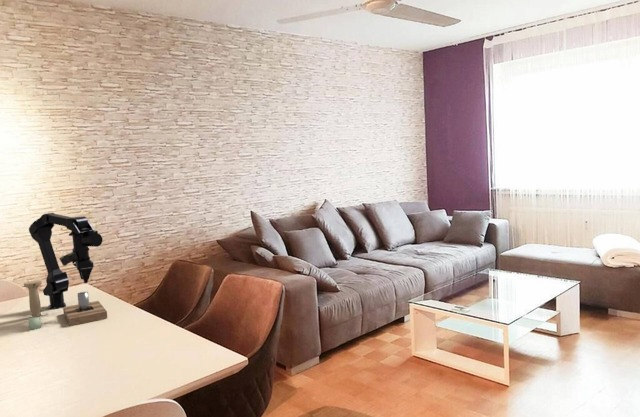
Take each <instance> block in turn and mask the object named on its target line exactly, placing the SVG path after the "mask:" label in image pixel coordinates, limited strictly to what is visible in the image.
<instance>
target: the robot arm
mask: <svg viewBox="0 0 640 417" xmlns="http://www.w3.org/2000/svg"><path fill="white" fill-rule="evenodd" d="M55 225H56V226H57V225H58V226H61V227H65V228H66V229H67V230H69V231H70V232H69V234H68V236H69V237H72V246H73V248H72V250H71V252H70V253H67V254H65V255H63V256H61V257H59V261H60V263H61V264H62V266H63V267H64V266H67V265H68V264H70V263H72V265H73V266H74V267H76V270H77V271H78V273H79V277H80V279H81V280H83V283H84V284H88V282H89V279H90V276H91V273H92V271H93V269H94V262H93V261H92V260H91V257H90V253H89V252H90V248H89V247H91V248H92V247H96V248H98V247H100V246H101V245H102V243H103V237H102V235H101V234H100V233H99V231H98V230H95V229H94V227H93V225H92V224H91V223H90V221H89V219H88V218H87V217H86V216H72V217H71V216H67V215H63V214H62V215H61V214H58V213H54V212H49V213H43V214H42V215H41V216H40V217H39V218H37V219H36V220H34V221H33V222H32V223H31V224H30V225H29V228H28V232H29V234H30V236H31V238H32V239H33V240H34V241H35V242H36V243H37V245H38V247H39V249H40V253H41V256H42V259H43V262H44V266H45V268H46V272H47V276H46V279H45V281H46V286H45V287H44V288H43V290H42V292H43V296H48V299H49V304H48V308H49V310H53V309H60V308H63V307H67V304H66V302H65V298H64V297H65V296H64V293H65V292H68V291H69V285H70V279H69V277H68V274H67V272H66V271H63V270H61V269H60V265H59V263H58V259H57V257H56V256H57V255H56V253H55V250H54V247H53V244H52V240H51V239H52V235H53V231H52V229H53V228H54V227H55Z"/></svg>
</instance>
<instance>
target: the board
mask: <svg viewBox="0 0 640 417" xmlns="http://www.w3.org/2000/svg"><path fill="white" fill-rule="evenodd" d="M89 307H90V310H88V311H83V312H79V304H74V305H68V306H67V305H66V306H65V307H62V310H63V315H64V317H65V319H66V321H67V324H68V326H69V327H73V326H77V325H81V324H82V325H83V324H86V323H91V322H96V321H101V320H107V319H108V312H107V310H106V308H105V307H104V306H103V305H102V303H101V302H100V301H99V300H95V301H91V302H90V301H89Z"/></svg>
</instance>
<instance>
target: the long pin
mask: <svg viewBox="0 0 640 417" xmlns="http://www.w3.org/2000/svg"><path fill="white" fill-rule="evenodd" d="M89 299H90V297H89V292H88V291H80V292H78V293H77V302H78V304H79V312H83V311H88V310H90V307H89V302H90V300H89ZM78 304H77V305H78Z"/></svg>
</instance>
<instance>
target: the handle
mask: <svg viewBox="0 0 640 417" xmlns="http://www.w3.org/2000/svg"><path fill="white" fill-rule="evenodd" d="M41 285H42V280H33V281H26V282H24V283H23V287H24V288H27V289H28V298H29V299H28V300H29V301H28V302H29V303H28V304H29V311H30V314H31V315H30V316H31V318H32V317H41V314H42V313H41V311H42V310H41V309H42V306H41V299H40V293H39V286H41Z"/></svg>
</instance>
